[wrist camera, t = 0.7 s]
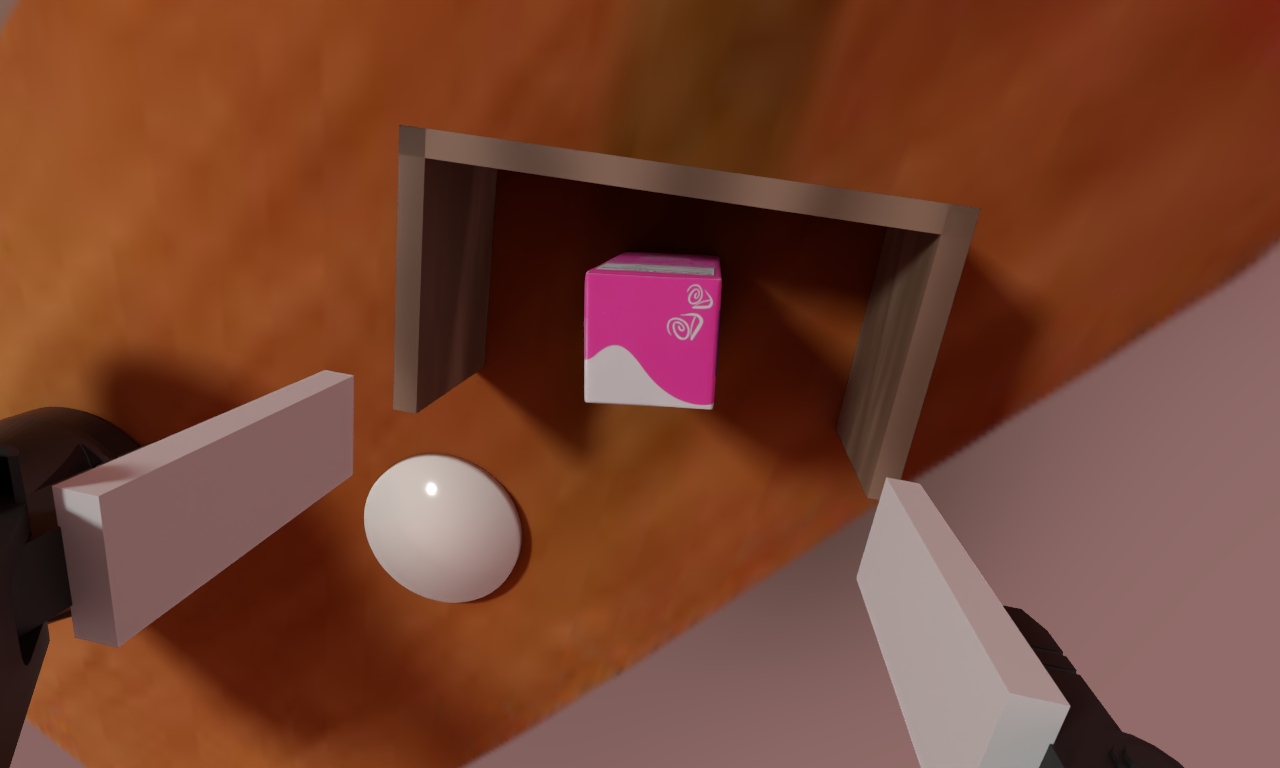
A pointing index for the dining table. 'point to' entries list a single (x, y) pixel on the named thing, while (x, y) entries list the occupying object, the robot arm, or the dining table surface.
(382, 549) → the pebble
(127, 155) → the dining table surface
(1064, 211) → the dining table surface
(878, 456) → the cubby
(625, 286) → the supplement box
